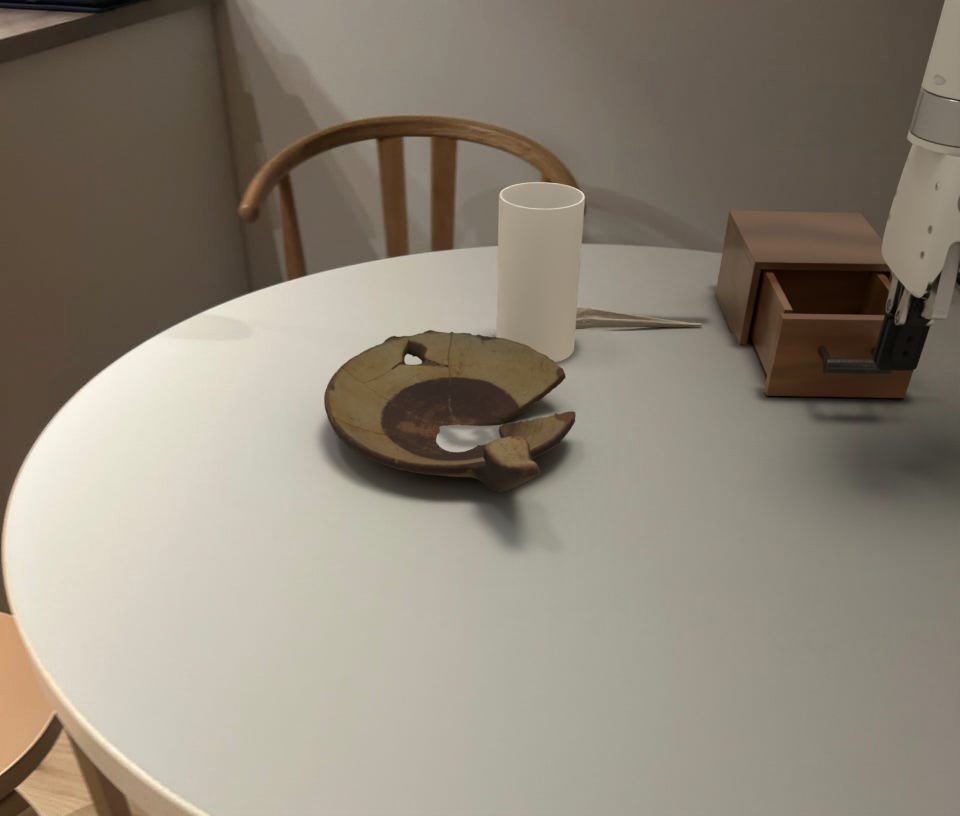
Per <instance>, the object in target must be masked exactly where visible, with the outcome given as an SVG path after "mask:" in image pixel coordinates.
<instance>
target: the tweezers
mask: <svg viewBox="0 0 960 816" xmlns="http://www.w3.org/2000/svg"><path fill="white" fill-rule="evenodd" d="M693 327H695V328H696V327H703V325H702V322H687V321H682V320H681V321H680V320H671V319H664V318H657V317H651V316H645V315H637V314H633V313H626V312H620V311H619V312H618V311H612V310H607V309H600V308H593V307H587V306H586V307H585V306H584V307H583V306H577V314H576V327H575V330H584V329H593V328H594V329H595V328H693Z"/></svg>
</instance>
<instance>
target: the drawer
mask: <svg viewBox="0 0 960 816" xmlns="http://www.w3.org/2000/svg"><path fill="white" fill-rule="evenodd" d="M890 286H891V282H890V281H889V280H888V278H887V277H886V276H885V274H884V273H883V272H882V271H829V270H767V269H761V273H760V278H759V284H758V289H757V294H756V299H755V304H754V309H753V315H752V320H751V325H750V330H749V334H750V337H751V339H752V341H753V344H754V346H753V347H754V348H755V351H756V353H757V355H758V357H759V360H760V363H761V365H762V367H763V370H764V372H765V374H766V379H765V385H764V389H763V390H764V393H765V395H766V396H767V397H768V396H769V397H770V396H771V397H821V398H822V397H823V398H824V397H825V398H873V399H874V398H876V399H877V398H879V399H881V398H883V399H905V398H906V395H907V392H908V390H909V389H908V388H909V385H910V383H911V380H912V376H913V373H914V370H913V371H903V370H880V369H878V367H877V365H876V363H875V362H874V361H873V354H874V350H875V347H876V344H877V340H878V337H879V333H880V330H881V327H882V323H883V320H884V316H885V315H892V313H887V312H886V303H887V299H888V294H889V290H890Z"/></svg>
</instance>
